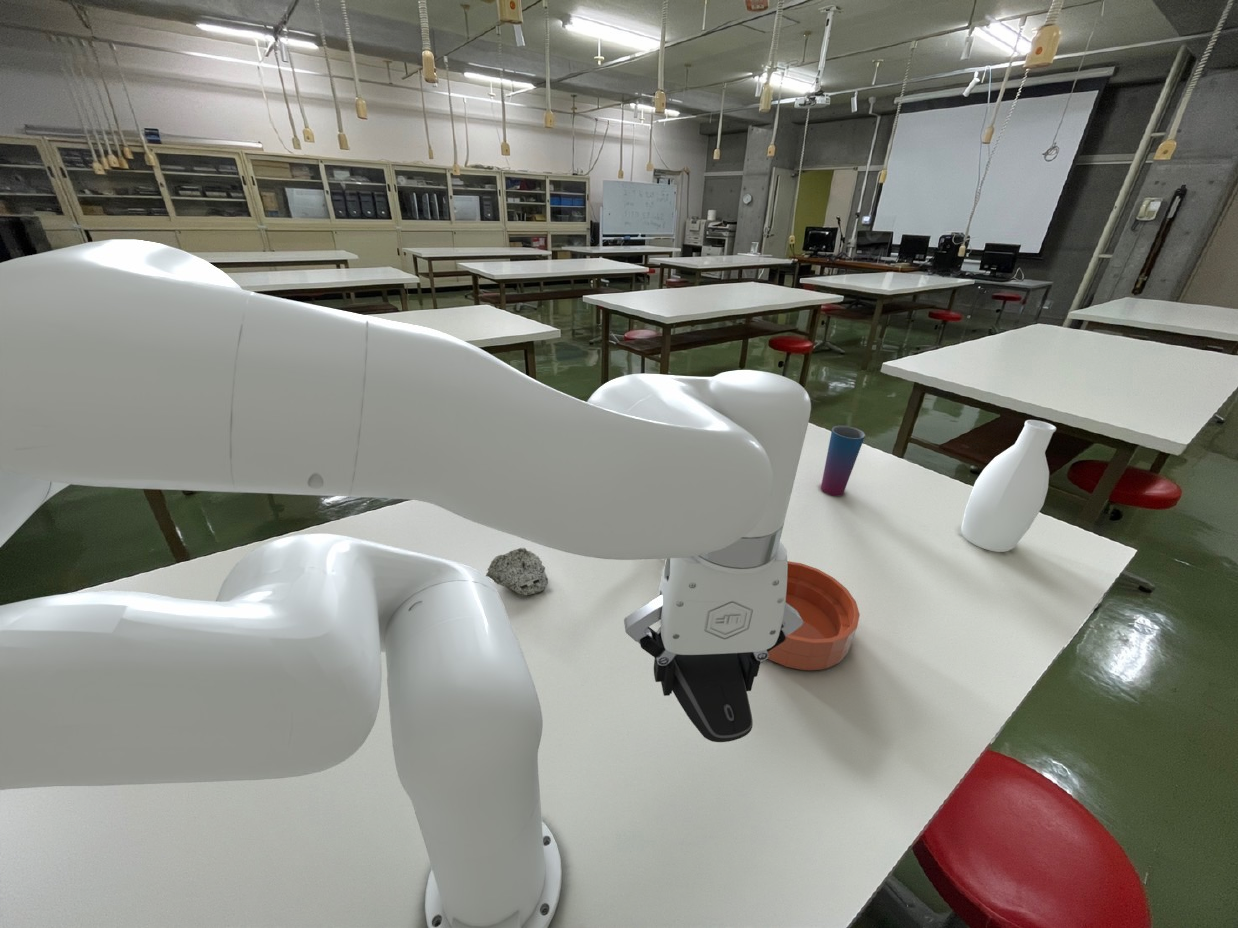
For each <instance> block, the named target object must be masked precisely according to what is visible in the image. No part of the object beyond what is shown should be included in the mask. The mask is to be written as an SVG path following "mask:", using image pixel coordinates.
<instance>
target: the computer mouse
mask: <svg viewBox="0 0 1238 928" xmlns="http://www.w3.org/2000/svg"><path fill="white" fill-rule="evenodd" d="M673 659H674V663H675V674H674V681H673V688H672V694H674V697H675V698H676V700H677V701H678V703H679V705H680V707H681V709H683V711H684V714H685V715H686V716H687V718H688V719H689V720H690V722H691V723H692V724H693V726H695V728H696V729H697V730H698V732H699V733H700V735H701V736H702V737H704V739H706V740H708V741H709V742H713V743H729V742H733V741H738V740H739V739H742V738H744V737H746V736H748V735H749V734H750V732H751V731H752V730H753V725H754V724H753V722H754V721H753V720H754V719H753V714H752V710H751V705H750V704H751V703H750V700H749V696H748V691H747V690H746V686H745V682H744V678H743V675H742V671H741V667H740V663H739V660H738V657H737V654H736V653H726V654H702V655H680V654H677V655H676V656H675V657H674V658H673Z"/></svg>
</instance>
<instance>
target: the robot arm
mask: <svg viewBox="0 0 1238 928" xmlns="http://www.w3.org/2000/svg"><path fill="white" fill-rule="evenodd" d="M811 411H812V402H811V398H810V395H809V393H808V391H807V390H806V389H805V388H804V387H803V386H802V385H801V384H800V383H799V382H797V381H795V380H793V379H791V378H788V377H786V376H783V375H781V374H777V373H773V372H768V371H763V370H753V369H737V370H729V371H725V372H724V371H723V372H720V373H717V374H716V375H714V376H689V375H673V374H663V373H662V374H661V373H633V374H626V375H622V376H619V377H616V378H614V379H611V380H609V381H607V382H605V383H603V384H602V385H601V386H600V387H598V388H597V389H596V390H595V391H594V392H593V393H592V394H591V395H590V397H589V398H588V399H587V401H584V400H581V399H579V398H576V397H574V396H572V395H569V394H567V393H565V392H562V391H560V390H557V389H555V388H553V387H551V386H549V385H547V384H544V383H542V382H540V381H538V380H536V379H535V378H532V377H530V376H529V375H527V374H525V373H523V372H521V371H520V370H518V369H516V368H515V367H513V366H511V364H510V365H509V364H508V363H506V362H504V361H503V360H501V359H499V358H497V357H496V356H494V355H493V354H491V353H489V352H488V351H485V350H484V349H482V348H480V347H478V346H476V345H474V344H472V343H469V342H468V341H465V340H463V339H461V338H458V337H456V336H453V335H451V334H448V333H445V332H442V331H440V330H437V329H435V328H429V327H425V326H420V325H415V324H411V323H405V322H399V321H394V320H388V319H384V318H380V317H374V316H370V315H364V314H359V313H356V312H351V311H346V310H341V309H337V308H331V307H326V306H321V305H317V304H312V303H307V302H302V301H297V300H293V299H287V298H282V297H278V296H273V295H268V294H264V293H258V292H255V291H252V290H247V289H243V288H242V287H241V286H240V285H239V284H238V283H237V282H236V281H234V279H232V278H231V277H230V276H229V275H227V273H225V271H223V270H221V269H219V268H218V267H216V265H215V266H214V265H213V264H211V263H210V262H208V261H207V260H206V259H203V258H201V257H198V256H197V255H194V254H192V253H190V252H188V251H185V250H183V249H179V248H176V247H173V246H170V245H167V244H163V243H158V242H153V241H145V240H139V239H117V238H116V239H113V238H112V239H105V240H98V241H89V242H84V243H80V244H75V245H71V246H66V247H62V248H58V249H53V250H48V251H45V252H40V253H36V254H32V255H31V254H30V255H26V256H21V257H16V258H12V259H9V260H6V261H2V262H0V548H2V547H3V545H4V544H6V542H7V541H8V540H9V539H10V538H11V537H12V536H13V535H14V534H15V533H16V532H17V531H18V530H19V528H20V527H22V525H23V524H24V523H26V521H27V520H28V519H29V518H30V517H31V516H32V515H33V514H34V513H35V512H36V511H37V510H38V509H39V508H41V506H42V505H44V503H45V502H47V501H48V500H49V499H51V498H52V497H53V496H55V495H56V494H57V493H59V492H60V491H62V490H64V489H66V488H68V487H69V486H70V485H72V486H73V485H74V486H75V485H76V486H85V487H99V488H100V487H101V488H119V489H120V488H122V489H135V490H136V489H137V490H138V489H139V490H140V489H141V490H164V491H165V490H167V491H168V490H169V491H192V492H217V493H219V492H220V493H249V494H273V495H298V496H300V495H301V496H324V497H325V496H326V497H350V498H371V499H373V498H374V499H394V500H395V499H396V500H408V501H409V500H410V501H417V502H423V503H428V504H430V505H433V506H435V507H439V508H441V509H443V510H446V511H447V512H450V513H452V514H455V515H457V516H459V517H461V518H463V519H465V520H468V521H471V522H473V523H476V524H478V525H481V526H484V527H487V528H490V529H493V530H495V531H498V532H501V533H505V534H509V535H512V536H515V537H517V538H520V539H523V540H526V541H529V542H531V543H535V544H538V545H541V546H543V547H546V548H549V549H554V550H558V551H560V552H564V553H569V554H573V555H578V556H581V557H582V556H583V557H588V558H593V559H594V558H595V559H602V560H618V561H635V560H638V561H639V560H665V562H664V566H663V570H662V573H661V578H660V581H659V582H660V583H659V588H658V592H657V593H658V594H657V597H656V598H654V599H652V600H651V601H649V602H647V603H646V604H644V605H643V606H642V607H640V608H638V609H637V610H635V611H634V612H632V613H630V614H629V615H627V616H625V617H624V619H623V623H624V631H625V633H626V635H628V636H629V637H630V638H631V639H632V640H634V641H635V642H636V643H638V644H639V646H640V648H641V649H642V650H643V651H645V652H646V653H647V654H649V655H651V656H652V657H653V658H654V659H653V660H654V661H653V676H654V681H655V682H656V683H660V684H661V689H662V693H663V694H662V695H663V696H664V697H667V696H670V695H671V694H673V691H672V688H673V681H674V674H675V663H674V659H673V658H674V657H675V656H676V655H677V654H680V655H702V654H726V653H736V654H737V657H738V660H739V663H740V667H741V671H742V675H743V678H744V682H745V686H746V690H747V692H751V691H752V688H753V685H754V680H755V678H757V677H758V673H759V670H760V666H761V663H762V662H764V661H766V660H767V658H768V657H769V654H768V652H769V651H770V650H772V649H773V648H775V647H776V646H778V645H779V644H781V643H782V642H784V641H785V639H786V637H785V636H786V635H790V634H791V633H793V632H794V631H795V630H797V629H798V628H799V627H801V626H802V625H803V620H802V618H801V617H800V615H799V613H798V611H797V610H795V609H794V608H793V607H791V606H790V605H789V604H788V603H786V602H785V600H786V590H787V567H788V565H787V561H788V551H787V548H786V547H785V545H784V544H783V542H781V538H782V534H783V529H784V526H785V520H786V516H787V512H788V508H789V505H790V501H791V498H792V497H791V496H792V492H793V488H794V484H795V480H796V476H797V471H798V468H799V463H800V459H801V456H802V451H803V447H804V443H805V439H806V434H807V431H808V426H809V422H810V417H811ZM491 580H492V579H491V578H490V577H488V576H487V577H486V575H485V574H484V573H482V572H481V571H480V570H478V569H476V568H474V567H472V566H470V565H467V564H464V563H462V562H459V561H455V560H451V559H447V558H443V557H438V556H434V555H430V554H426V553H422V552H417V551H412V550H409V549H405V548H401V547H397V546H392V545H388V544H384V543H379V542H375V541H371V540H366V539H363V538H362V539H361V538H357V537H353V536H349V535H342V534H335V533H323V532H322V533H321V532H320V533H319V532H318V533H317V532H316V533H302V534H295V535H290V536H284V537H281V538H277V539H275V540H272V541H269V542H267V543H264V544H262V545H261V546H259V547H257V548H255V549H253V550H252V551H250V552H249V553H247V554H246V555H245V556H243V557H242V558H241V559H240V560H239V561H238V562H237V563H235V565H234V566H233V567H232V569H231V570H230V571H229V573H228V574H227V576H226V577H225V579H224V580H223V582H222V583H221V586H220V588H219V590H218V593H217V596H216V599H215V601H214V600H201V599H189V598H180V597H173V596H167V595H163V594H156V593H150V592H144V591H143V592H142V591H135V590H133V591H132V590H96V591H94V590H93V591H82V592H72V593H71V592H70V593H62V594H53V595H48V596H41V597H36V598H30V599H26V600H25V599H24V600H20V601H15V602H12V603H11V602H10V603H6V604H2V605H0V791H5V790H16V789H17V790H19V789H32V788H33V789H36V788H52V787H105V786H107V787H108V786H131V785H134V786H137V785H158V784H159V785H160V784H187V783H189V784H190V783H213V782H238V781H240V782H241V781H259V780H260V781H262V780H263V781H264V780H277V779H287V778H296V777H297V778H298V777H302V776H307V775H313V774H316V773H321V772H324V771H325V770H329V769H332V768H333V767H336V766H339V765H341V763H343V762H345V761H346V760H348V759H349V758H350V757H352V756H353V755H354V754H355V753H357V751H358V750H359V749H360V748H361V747H362V746H363V745H364V743H365V742H366V740H367V739H368V737H369V735H370V733H371V732H372V730H373V728H374V726H375V723H376V720H377V717H378V714H379V709H380V704H381V696H382V695H381V694H382V681H383V680H382V677H383V675H382V674H383V673H382V670H383V669H382V653H384V654H385V664H386V675H387V677H386V687H387V696H388V708H389V709H388V711H389V723H390V733H391V742H392V750H393V757H394V758H393V759H394V763H395V769H396V773H397V777H398V779H399V782H400V784H401V787H402V789H403V790H404V791H405V793H406V795H407V797H408V798H409V799H410V801H411V804H412V807H413V810H414V814H415V817H416V821H417V823H418V827H419V830H420V832H421V836H422V839H423V843H424V846H425V849H426V853H427V857H428V860H429V864H430V866H431V867H430V868H431V870H430V872H429V875H428V878H427V879H428V880H427V884H426V888H425V894H424V913H425V919H426V926H427V928H549V926H550V924H551V921H552V920H553V918H554V916H555V914H556V911H557V907H558V904H559V901H560V895H561V890H562V880H563V879H562V876H563V875H562V860H561V855H560V850H559V847H558V844H557V841H556V839H555V837H554V835H553V833H552V832H551V831H550V829H549V827H548V826H547V825H546V823H545V822H544V821H543V818H542V803H541V790H540V776H539V775H540V774H539V758H538V757H539V749H540V745H541V740H542V736H543V735H542V734H543V725H544V724H543V714H542V707H541V703H540V699H539V696H538V692H537V689H536V686H535V685H536V684H535V682H534V679H533V676H532V674H531V671H530V668H529V666H528V663H527V661H526V658H525V655H524V652H523V649H522V647H521V645H520V641H519V639H518V637H517V635H516V633H515V631H514V629H513V626H512V623H511V620H510V618H509V614H508V612H507V609H506V607H505V605H504V602H503V600H502V597H501V595H500V593H499V591H498V589H497V587H496V586H495V584H494V583H493V582H492V581H491ZM657 622H660V626H659V628H658V629H657V630H656V631H655V630H654V629H652V628H651V626H652V625H654V624H655V623H657ZM546 844H547V845H546ZM545 911H546V913H547V914H543V913H544V912H545ZM438 923H439V925H438V926H436V925H437V924H438Z"/></svg>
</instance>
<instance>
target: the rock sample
mask: <svg viewBox="0 0 1238 928" xmlns="http://www.w3.org/2000/svg"><path fill="white" fill-rule="evenodd" d="M485 570H486V569H485ZM545 570H546V567H545V566H544V565H543V561H542V560H541V558H540V557H539V556H538V555H536V553H534V552H532V551H531V550H527V548H526V547H519V548H517V549H513V550H510V551H508V552H507V553H504V554H500V555H499V554H498V555H497V556H495V557H494V558H493V559H492V560H491V562H490V564H489V566H488V568H487V570H486V575H485V576H486V577H488V578H489V579H490V580H492V581H493V582H494V583H496V584H497V585H499V586H501V587H505V588H509V589H511V590H512V591H514V593H517V594H521V595H523V596H529V595H536V594H538V593H542V591H543V590H544V589H546V586H547V585H548V583H549V579H548V576H547V574H546V572H545Z"/></svg>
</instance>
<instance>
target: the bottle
mask: <svg viewBox="0 0 1238 928" xmlns="http://www.w3.org/2000/svg"><path fill="white" fill-rule="evenodd" d="M1056 431H1057V427H1056V426H1055V425H1053V424H1052V423H1049V422H1047V421H1042V420H1037V419H1027V420H1025V421H1024V426H1023V428H1022V430H1021V432H1020V433H1019V435H1018V437H1017V440H1016V441H1015V442H1014V444H1012V445H1011V446H1010V447H1008V448H1007V449H1005V450H1003V451H1002V452H1001V453H999V454H998V455H996V456H995V457H994V458H993V459H992V460H991V461H990V462H989V463H988V464H987V465H986V466H985V467H984V468H983V469H982V471H981V472H980V474H979V476H978V477H977V479H975V482H974V484H973V487H972V490H971V492H970V495H969V498H968V500H967V503H966V506H965V510H964V514H963V517H962V522H961V527H960V530H961V531H960V532H961V533H962V536H963V537H964V538H965V539H966V540H967V541H968V542H969V543H971V544H972V545H975V546H976V547H978V548H980V549H984V550H987V551H990V552H994V553H1004V552H1005V553H1006V552H1009V551H1011V550H1013V549H1014V548H1015V547H1016V546H1017V544H1018V543H1019V542H1020V541H1021V539H1022V538H1023V537H1024V536H1025V535H1026V534H1027V532H1028V531H1029V529H1030V528H1031V526H1032V525H1033V523H1034V522H1035V520H1036V518H1037V517H1038V515H1039V513H1040V511H1041V510H1042V508H1043V506H1044V504H1045V501H1046V497H1047V495H1048V494H1047V493H1048V489H1049V479H1050V470H1049V469H1050V468H1049V465H1048V461H1047V457H1046V450H1047V449H1048V446H1049V444H1050V442H1051V439H1052V437H1053V434H1054V433H1055V432H1056Z"/></svg>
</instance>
